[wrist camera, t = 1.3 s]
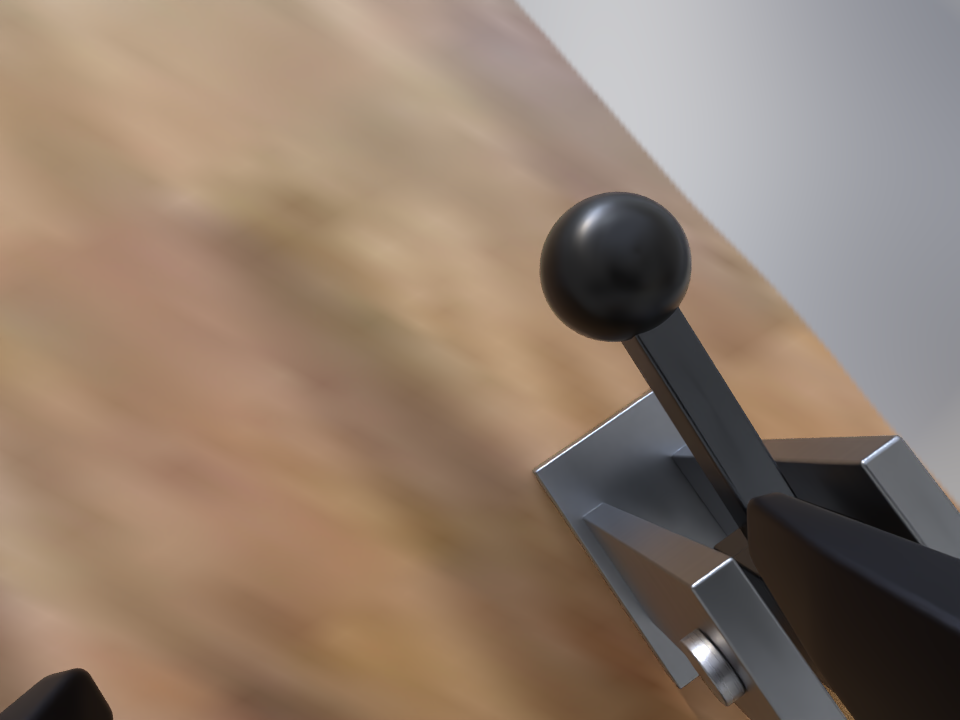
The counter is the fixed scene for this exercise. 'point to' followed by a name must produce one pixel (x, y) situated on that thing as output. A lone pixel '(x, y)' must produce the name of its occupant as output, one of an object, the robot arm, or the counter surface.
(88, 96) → the counter surface
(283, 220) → the counter surface
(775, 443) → the bracket
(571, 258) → the ball knob lever
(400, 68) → the counter surface
